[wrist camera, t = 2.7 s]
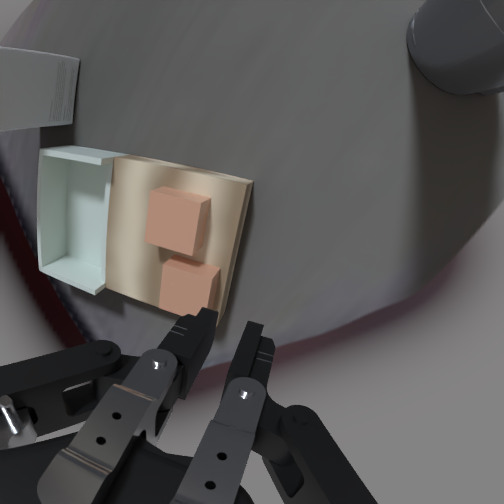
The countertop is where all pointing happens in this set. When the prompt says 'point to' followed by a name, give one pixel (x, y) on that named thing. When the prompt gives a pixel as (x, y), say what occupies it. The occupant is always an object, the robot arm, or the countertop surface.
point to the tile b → (187, 286)
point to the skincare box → (36, 89)
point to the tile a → (176, 220)
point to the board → (153, 257)
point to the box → (74, 214)
